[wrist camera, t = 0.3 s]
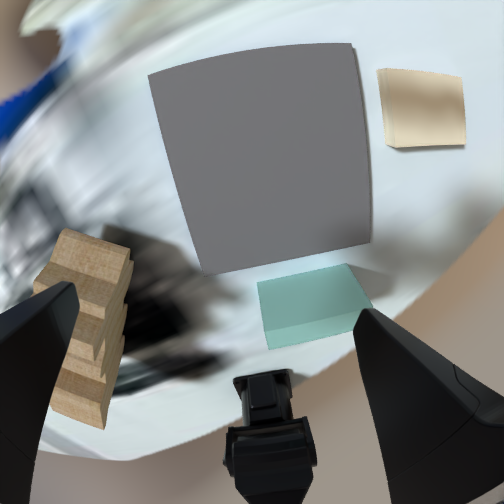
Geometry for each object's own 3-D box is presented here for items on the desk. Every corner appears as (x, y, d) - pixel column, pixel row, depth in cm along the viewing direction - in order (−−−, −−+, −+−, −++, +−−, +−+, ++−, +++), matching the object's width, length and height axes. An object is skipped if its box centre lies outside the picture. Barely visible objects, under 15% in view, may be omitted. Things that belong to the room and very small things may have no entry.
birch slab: (451, 139, 19) (465, 144, 17) (382, 143, 19) (395, 147, 17) (446, 76, 16) (461, 77, 14) (373, 70, 16) (386, 68, 14)
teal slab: (346, 281, 25) (370, 325, 20) (260, 299, 25) (268, 350, 20) (345, 262, 24) (373, 306, 19) (256, 282, 24) (264, 331, 19)
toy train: (139, 232, 21) (91, 317, 12) (123, 360, 28) (103, 433, 20) (80, 213, 20) (11, 283, 11) (80, 345, 27) (53, 414, 18)
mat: (367, 239, 23) (369, 242, 22) (205, 272, 23) (204, 276, 23) (347, 44, 15) (351, 43, 14) (150, 76, 15) (147, 75, 15)
